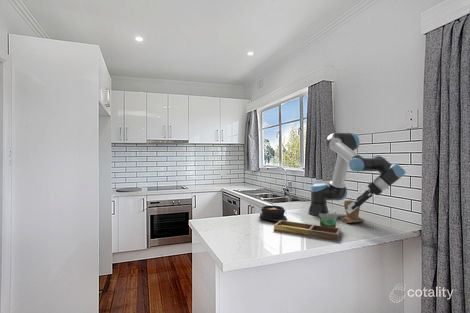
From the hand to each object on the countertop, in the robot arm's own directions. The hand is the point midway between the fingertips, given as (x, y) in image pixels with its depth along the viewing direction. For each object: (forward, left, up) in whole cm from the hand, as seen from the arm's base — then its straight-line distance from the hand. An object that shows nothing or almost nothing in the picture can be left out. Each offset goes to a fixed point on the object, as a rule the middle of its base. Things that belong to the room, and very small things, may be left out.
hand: (348, 210), depth 149 cm
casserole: (-7, -49, -14) cm, 51 cm away
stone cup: (-29, 0, -14) cm, 32 cm away
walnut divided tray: (+13, -21, -13) cm, 28 cm away
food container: (-1, -10, -14) cm, 17 cm away
